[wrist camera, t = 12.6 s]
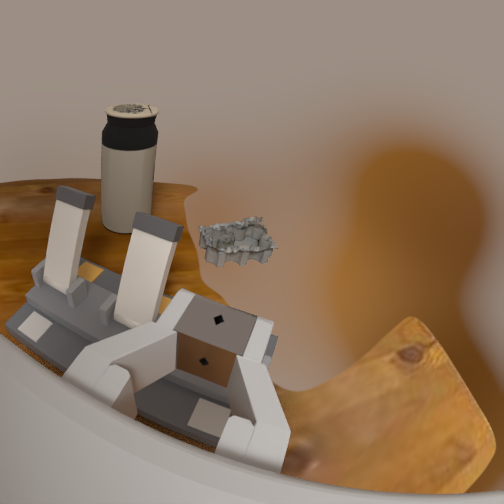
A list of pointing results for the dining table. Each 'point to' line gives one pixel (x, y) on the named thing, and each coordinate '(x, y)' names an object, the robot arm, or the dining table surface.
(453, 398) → the dining table surface
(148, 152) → the travel mug
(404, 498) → the robot arm
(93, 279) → the switch panel
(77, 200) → the lever inner
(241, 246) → the egg carton
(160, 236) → the lever middle
